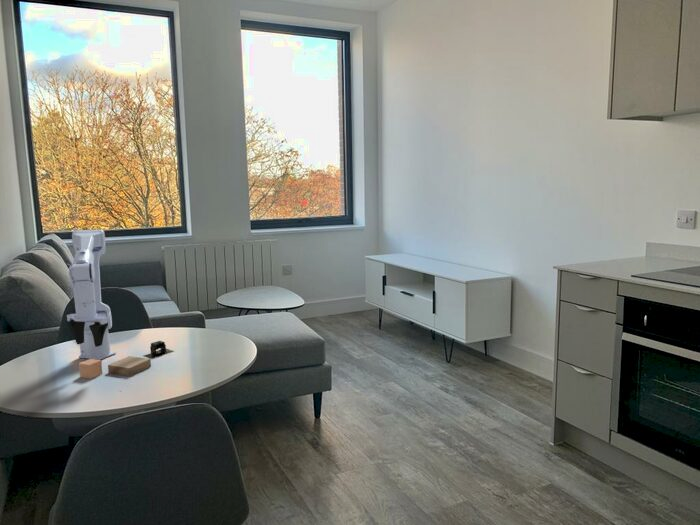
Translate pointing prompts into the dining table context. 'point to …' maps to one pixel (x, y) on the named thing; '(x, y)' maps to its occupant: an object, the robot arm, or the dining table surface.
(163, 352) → the black slotted bracket
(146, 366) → the walnut slab
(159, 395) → the dining table surface
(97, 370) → the terracotta cube
